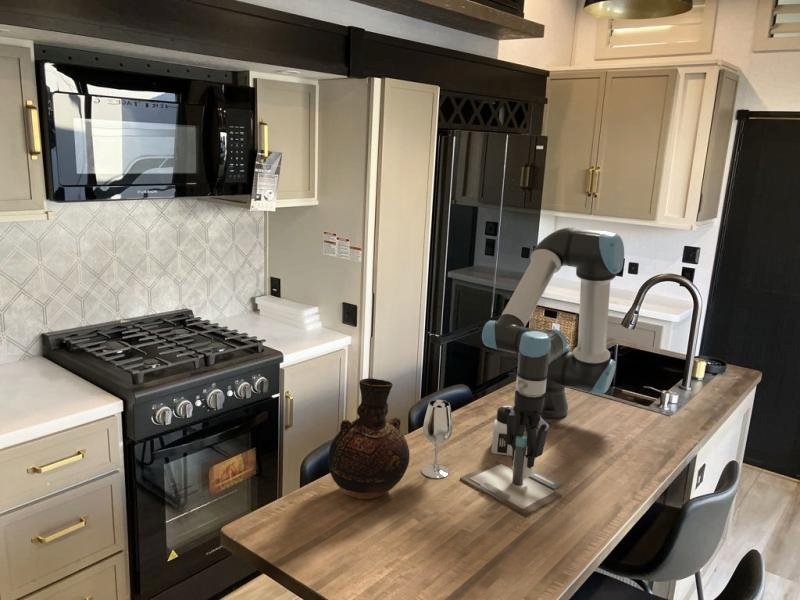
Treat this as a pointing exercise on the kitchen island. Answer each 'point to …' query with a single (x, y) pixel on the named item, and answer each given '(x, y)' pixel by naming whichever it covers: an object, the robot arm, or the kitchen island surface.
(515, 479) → the marker
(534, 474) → the plate
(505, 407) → the container
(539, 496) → the clipboard
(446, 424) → the wineglass
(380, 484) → the ceramic vessel
